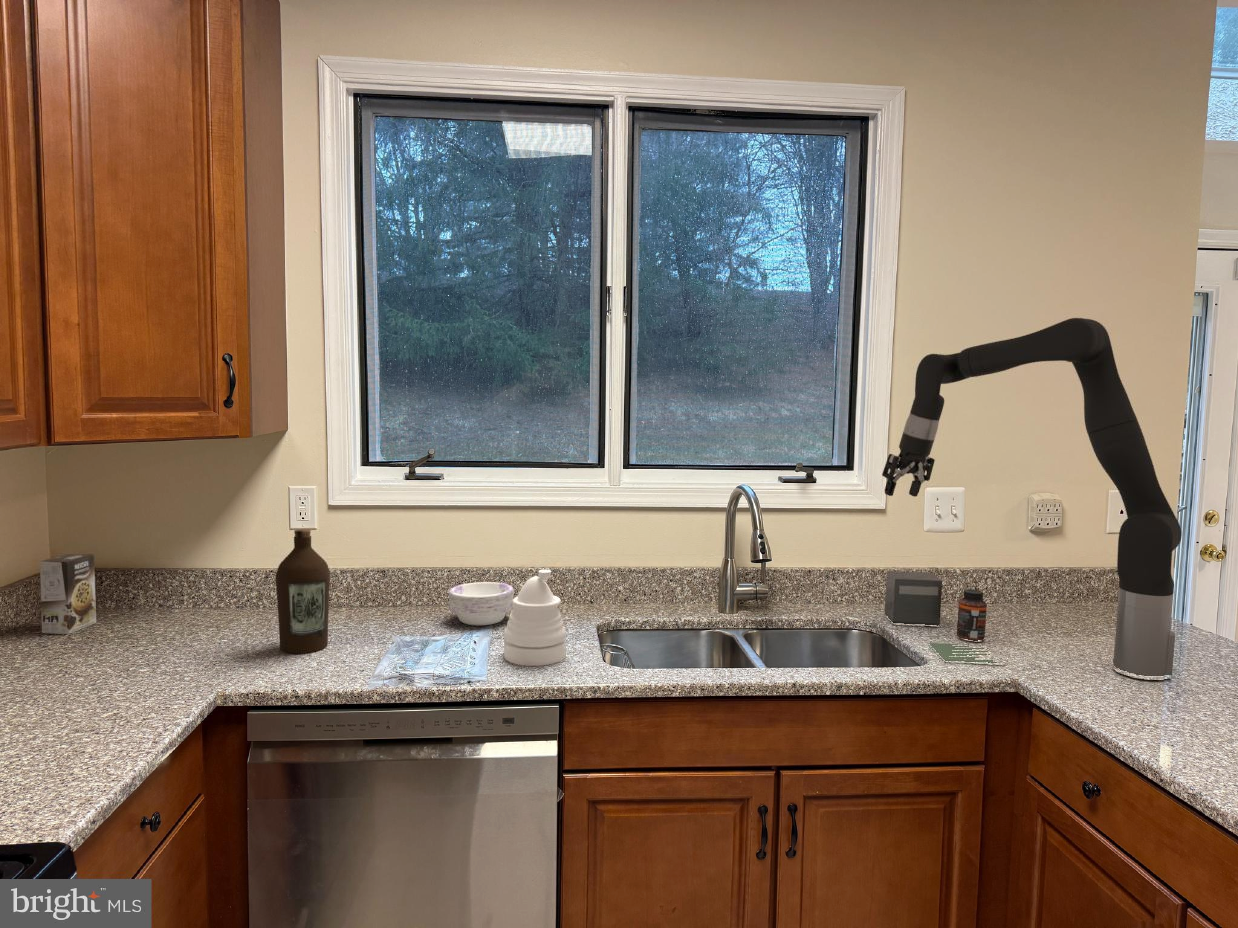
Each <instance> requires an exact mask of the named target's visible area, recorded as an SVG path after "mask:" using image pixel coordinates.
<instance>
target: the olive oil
mask: <svg viewBox="0 0 1238 928" xmlns="http://www.w3.org/2000/svg"><path fill="white" fill-rule="evenodd" d="M311 531H312V530H311V529H309V528H299V529H295V530H294V532H293V533H294V537H293V545H294V546H293V549H292V550H291V551H290V552H289V554H287V556H285V558H284V559H283V560H282V561H281V562H280V564H278V566H277V570H276V573H275V587H276V588H275V589H276V590H275V591H276V600H277V601H276V602H277V615H278V632H279V634H278V636H279V649H280V651H281V652H283V653H287V654H296V655H297V654H299V655H300V654H301V655H302V654H310V653H315V652H318V651H322V650H323V649H325V648H327V646H328V643H329V641H328V640H329V635H328V634H329V611H330V610H329V608H330V587H331V585H330V583H331V573H330V572H331V571H330V569H329V564H328V563H327V562H326V560H325V559H324V558H323V557H322V556H320V554H318V553H317V552H316V551H315V550H314V548H313V547H312V535H311V533H312V532H311Z"/></svg>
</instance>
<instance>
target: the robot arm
mask: <svg viewBox="0 0 1238 928" xmlns="http://www.w3.org/2000/svg"><path fill="white" fill-rule="evenodd" d="M1112 346H1113V345H1112V341H1111V339H1110V335H1109V332H1108V330H1107V329H1106V327H1105V326H1104V325H1103V324H1102V323H1100V322H1099V321H1097V320H1095V319H1091V318H1085V317H1084V318H1083V317H1071V318H1068V319H1065V320H1063V321H1060V322H1058V323H1055V324H1053V325H1050V326H1047V327H1045V328H1043V329H1040V330H1037V331H1035V332H1031V333H1028V334H1025V335H1022V336H1018V337H1017V336H1016V337H1012V338H1009V339H1003V340H998V341H992V342H987V343H983V344H979V345H974V346H970V347H967V348H964V349H962V350H961V351H960V352H956V353H950V354H942V353H941V354H938V353H929V354H927V355H925V356H924V357H922V359H921V360H920V361H919V363H918V366H917V367H916V372H915V384H914V385H915V386H914V399H913V401H912V405H911V409H910V413H909V414H908V417H907V419H906V422H905V424H904V427H903V431H902V435H901V437H900V441H899V445H898V448H899V450H900V451H899V453H898V455H895V454H893V453H889V454H888V456H887V459H886V462H885V465H884V468H883V471H882V474H881V476H882V477H883V478H885V479H886V484H885V487H884V494H885V495H886V496H889V497H893V496H894V493H895V489H896V486H897V482H898V481H899V479H900V478H901V477H904V476H905V475H906V474H907V475H908V474H911V475H912V477H913V479H912V482H911V485H910V487H909V490H908V494H909V495H910V496H912V497H918V495H919V493H920V490H921V487H922V484H924V482H925V481H926V482H929V481H930V480H931V476H932V471H933V470H934V469H933V468H934V465H935V461H936V459H935V458H933V457H931V456H930V455H931V451H932V449H933V446H934V443H935V440H936V437H937V433H938V429H939V423H940V420H941V416H942V413H943V409H944V407H945V398H944V397H943V396H942V395H941V394H940V393H941V389H942V387H941V385H947V384H952V383H957V382H961V381H963V380H967V379H970V378H977V377H981V376H986V375H992V374H997V373H1001V372H1005V371H1007V370H1010V369H1014V368H1018V367H1020V366H1024V365H1028V364H1032V363H1033V364H1034V363H1039V362H1040V363H1041V362H1068V363H1071V364H1072V366H1073V368H1074V370H1075V372H1076V374H1077V376H1078V380H1079V381H1080V384H1081V387H1082V391H1083V416H1084V425H1085V429H1086V433H1087V436H1088V438H1089V441H1090V445H1091V447H1092V449H1093V450H1092V451H1093V452H1094V454H1095V457H1096V458H1097V461H1098V462H1099V464H1100V466H1101V467H1102V469H1103V470H1104V472H1105V473H1106V474H1107V475H1108V477H1109V479H1110V480H1111V481H1112V482H1113V485H1115V487H1116V489H1117V491H1118V493H1119V494H1120V496H1121V500H1122V503H1123V505H1124V506H1123V507H1124V509H1125V512H1126V513H1125V514H1126V517H1127V518H1126V519H1125V520H1124V521H1123V522H1122V524H1121V526H1120V529H1119V532H1118V537H1117V539H1118V540H1117V556H1116V558H1117V562H1116V565H1117V567H1116V569H1117V570H1116V573H1117V576H1118V578H1119V579H1118V594H1117V595H1118V596H1117V608H1116V624H1115V636H1114V648H1113V649H1114V650H1113V658H1112V661H1113V663H1112V664H1113V665H1114V666H1115V667H1116V668H1119V669H1120V670H1123V671H1127V672H1129V673H1134V674H1136V675H1144V676H1164V675H1172V676H1173V667H1174V655H1175V645H1176V644H1175V643H1176V633H1175V632H1174V631H1172V630H1171V629H1172V617H1173V605H1174V603H1173V602H1174V592H1175V580H1174V579H1173V576H1172V559H1173V551H1174V550H1176V549H1177V548H1178V547H1179V545H1180V543H1181V541H1182V536H1183V535H1182V534H1183V533H1182V528H1181V525H1180V522H1179V521H1178V519H1177V516H1176V515H1175V513H1174V510H1173V509H1172V507H1171V505H1170V504H1169V501H1168V499H1167V497H1166V496H1165V494H1164V492H1163V490H1162V487H1161V485H1160V483H1159V481H1158V480H1159V479H1158V477H1157V474H1156V473H1157V472H1156V469H1155V467H1154V463H1153V460H1152V456H1151V454H1150V451H1149V448H1148V446H1147V443H1146V439H1145V436H1144V433H1143V431H1142V428H1141V426H1140V423H1139V421H1138V420H1139V419H1138V418H1137V416H1136V413H1135V411H1134V408H1133V405H1132V404H1131V400H1130V398H1129V396H1128V393H1127V391H1126V389H1125V385H1124V384H1123V383H1122V382H1123V381H1122V379H1121V378H1120V375H1119V371H1118V367H1117V364H1116V363H1117V362H1116V359H1115V356H1114V352H1113V347H1112ZM1113 665H1112V666H1113Z"/></svg>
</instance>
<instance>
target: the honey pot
mask: <svg viewBox="0 0 1238 928" xmlns="http://www.w3.org/2000/svg"><path fill="white" fill-rule="evenodd" d="M537 573H538V576H537V575H536V576H532V577H530V578H529V579H528V580H526V582H524V584H523V586H522V588H521V589H520V591H519V593H518V595H517V596H516V597H513V598H514V599H513V608H512V610H511V612H510V614H509V616H508V621H507V622H506V623H507V624H506V627H505V629H504V633H503V637H504V638H503V640H504V641H503V658H504V659H505V660H506V661H507V662H509V663H512V664H514V665H519V666H527V667H532V666H533V667H538V666H539V667H540V666H548V665H552V664H557V663H559V662H561V661H564V660H565V658H566V657H567V632H566V628H565V626H564V621H563V619H562V613H560V611H559V608H558V606H560V605H561V603H562V602H561V601H562V600H561V598H560V597H558V596H557V595H554V594H553V592H552V590H551V589H550V586H549V585H548V584H547V582H546V581H547V580H549V579H550V578H551V577H550V576H551V574H552V571H551V570H550V569H540V570H538V571H537Z"/></svg>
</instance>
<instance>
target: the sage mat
mask: <svg viewBox="0 0 1238 928" xmlns="http://www.w3.org/2000/svg"><path fill="white" fill-rule="evenodd" d="M929 644H930V645H931V646H932V647H933V648H934V649H935V650H936V652H937V653H939V655H940V656H941V657H942V658H943V659H944V660H945V661H965V662H988V663H990V662H991V663H997V662H993V660H975V658H979V657H949V656H955V655H956V656H967V655H969V656H972V655H987V654H952V653H969V652H974V653H975V652H988V651H964V650H972V649H984V648H955V647H969V646H952V645H958V644H959V643H944V642H941V643H940V642H928V645H929ZM987 649H989V648H988V647H987ZM952 650H963V651H952ZM991 652H993V651H992V650H991ZM988 655H990V654H988ZM964 659H966V660H964Z"/></svg>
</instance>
